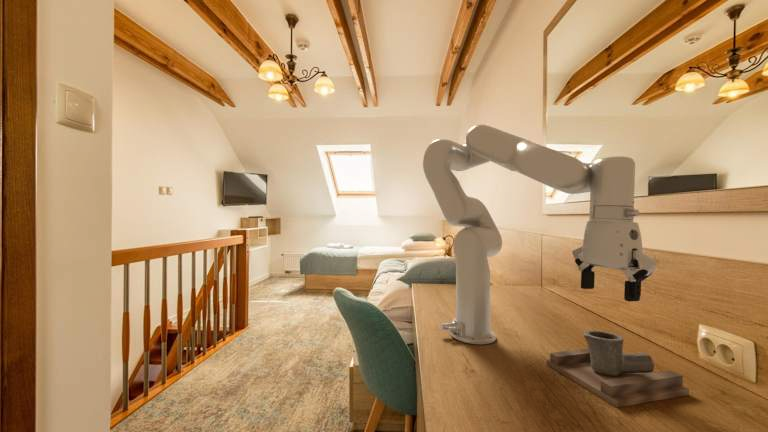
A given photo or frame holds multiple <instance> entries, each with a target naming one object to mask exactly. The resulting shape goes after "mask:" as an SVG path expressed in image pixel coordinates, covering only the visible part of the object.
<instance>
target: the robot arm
mask: <svg viewBox="0 0 768 432" xmlns="http://www.w3.org/2000/svg"><path fill="white" fill-rule="evenodd" d="M464 143H465V144H460V143H457V142H455V141H453V140H451V139H445V138H444V139H443V138H439V139H435V140H433V141H432V142H430V144H428V146H427V148H426V150H425V151H424V155H423V161H422V168H423V169H422V170H423V172H424V176H425V178H426V180H427V182H428V184H429V187H430V188H431V190H432V193H433V194H434V197H435V199H436V201H437V204H438V205H439V208H440V210H441V213H442V214H443V216H444V218H445V221H446V222H447V223H448V224H449V225H451V226H454V227H464V228H462V229H460V230H458V232H457V233H456V234H455V237H454V238H453V245H452V247H453V248H452V249H453V255H454V261H455V262H454V263H455V283H456V284H455V317H453V318H452V320H451V321H449V322H441V323H440V324H439V328H440V331H448V332H449V334H450V336H451V337H452V338H453V339H455V340H457V341H460V342H462V343H467V344H471V345H489V344H492V343H493V342H495V341H496V340H497V339H496V338H497V335H496V333H495V332H494V331H493V330H492V329H491V271H490V266H489V260H488V258H491V257H494V256H496V255H497V254H499V252H500V251H501V249H502V246H503V239H502V235H501V233H500V230H499V229H498V227H497V225H496V223H495V221H494V220H493V217H492V216H491V214H490V212H489V210H488V209H487V207H486V205H485V204H484V203H483V202H482V201H481V200H480V199H478V198H476V197H472V196H468V195H467V194H466V192H465V191H464V189H463V187H462V186H461V183H460V180H459V179H458V177H456V175H455V174H454V173H453V171H456V172H463V171H467V170H470V169H473V168H476V167H478V166H481V165H483V164H487V163H489V162H491V163H494V164H497V165H499V166H500V167H503V168H505V169H507V170H509V171H511V172H515V173H516V172H517V173H519V174H522V175H524V176H525V177H528V178H530V179H531V180H534V181H537V182H539V183H541V184H543V185H545V186H547V187H549V188H552V189H554V190H556V191H560V192H563V193H565V194H568V195H575V194H583V193H589V219H588V220H587V222H586V225H585V228H584V234H583V240H582V246H580V247H578V248H575V249H573V250H572V251H571V252H572V255H573V258H574V259H575V260H574V262H575V264H576V265H577V266H578V267H577V268H578V271H579V272H581V273H580V289H582V290H593V289H594V288H595V273H596V272H595V271H594V269H595V267H601V268H606V269H612V270H617V271H621V272H622V273H623V274H624V276H625V277H626V278H627V280H625V281H624V292H623V293H624V295H623V297H624V300H625V301H626V302H629V303H630V302H640V299H641V295H642V282H645V281H646V279H648V278H649V277H650V276H651V275H652V274H653V271H654V270H655V269H656V268H657V266H658V262H657V261H656V260H654V259H653V258H651V257H649V256H647V255H646V254H644V251H643V242H642V241H643V239H642V235H641V229H640V226H639V223H638V222H635V221H634V219H635V218H634V217H639V215H640V211H639V210H638V209H635V207H634V206H635V189H636V188H635V187H636V186H635V183H636V182H635V180H636V179H635V178H636V161H634V159H633V158H632V157H629V156H608V157H607V156H606V157H602V158H598V159H596V160H594V161H593V162H590V163H588V162H587V163H586V162H583V161H581V160H579V159H578V158H576V157H575V156H572V155H568V154H566V153H563V152H561V151H558V150H555V149H552V148H550V147H547V146H544V145H541V144H539V143H535V142H533V141H531V140H529V139H526V138H523V137H520V136H517V135H515V134H512V133H509V132H507V131H503V130H501V129H498V128H496V127H493V126H490V125H486V124H476V125H474V126H472V127H471V128H470V129H469V130H468V131H467V133H466V134H465V141H464Z"/></svg>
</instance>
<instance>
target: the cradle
mask: <svg viewBox="0 0 768 432" xmlns="http://www.w3.org/2000/svg"><path fill="white" fill-rule="evenodd" d="M549 353H550V355H549V356H550V357H549V359H546V366H548V367H550V368H551V369H553V370H554V371H557V372H558V373H560V374H561V375H563V376H565V377H566V378H568V379H569V380H571V381H573V382H574V383H576V384H577V385H579V386H580V387H582V388H584V389H585V390H587V391H589V392H590V393H592V394H594V395H595V396H597V397H599V398H601V399H602V400H603V401H605V402H607V403H609V404H610V405H611V406H613V407H616V408H622V407H629V406H634V405H639V404H644V403H645V404H647V403H653V402H657V401H662V400H668V399H674V398H681V397H685V396H689V395H690V388H689V387H686V386H684V385H683V384H684V383H683V380H684V379H683V374H680V373H678V372H674V371H673V370H666V371H665V370H664V371H658V372H653V371H652V372H647V373H620V374H619V375H617V376H609V375H603V374H600V373H597V372H595V371H594V370H593V369H592V368H591V358H590V353H589V348H581V349H573V350H564V351H563V350H562V351H554V352H549Z"/></svg>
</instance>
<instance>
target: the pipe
mask: <svg viewBox="0 0 768 432" xmlns="http://www.w3.org/2000/svg"><path fill="white" fill-rule="evenodd" d="M583 337H584V339H585V341H586V344H587V347H588V348H587V349H589V353H590V358H591V368H592V369H593V370H594V371H595V372H597V373H600V374H603V375H609V376H617V375H619V374H620V373H647V372H653V371H654V369H655V364H654V360H653V358H652V357H651V355H649V354H647V353H643V352H640V353H636V352H635V353H623V346H624V340H625V338H624V337H622V336H621V335H618V334H615V333H612V332H608V331H602V330H586V331H584V332H583Z"/></svg>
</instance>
